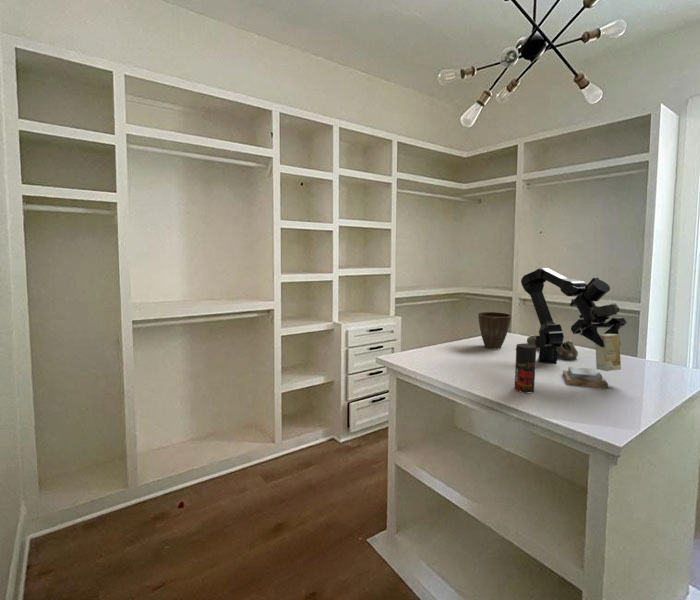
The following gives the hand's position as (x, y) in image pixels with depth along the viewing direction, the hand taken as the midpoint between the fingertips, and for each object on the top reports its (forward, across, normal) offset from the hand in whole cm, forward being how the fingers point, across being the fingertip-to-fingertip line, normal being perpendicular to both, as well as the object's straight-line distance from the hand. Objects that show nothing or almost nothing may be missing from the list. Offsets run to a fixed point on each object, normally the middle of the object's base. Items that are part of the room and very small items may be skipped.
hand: (611, 346), depth 135 cm
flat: (-21, +14, +42) cm, 49 cm away
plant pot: (-30, -8, +51) cm, 60 cm away
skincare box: (+6, 0, +6) cm, 9 cm away
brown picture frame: (+6, -5, +13) cm, 15 cm away
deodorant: (+9, -32, +10) cm, 35 cm away
